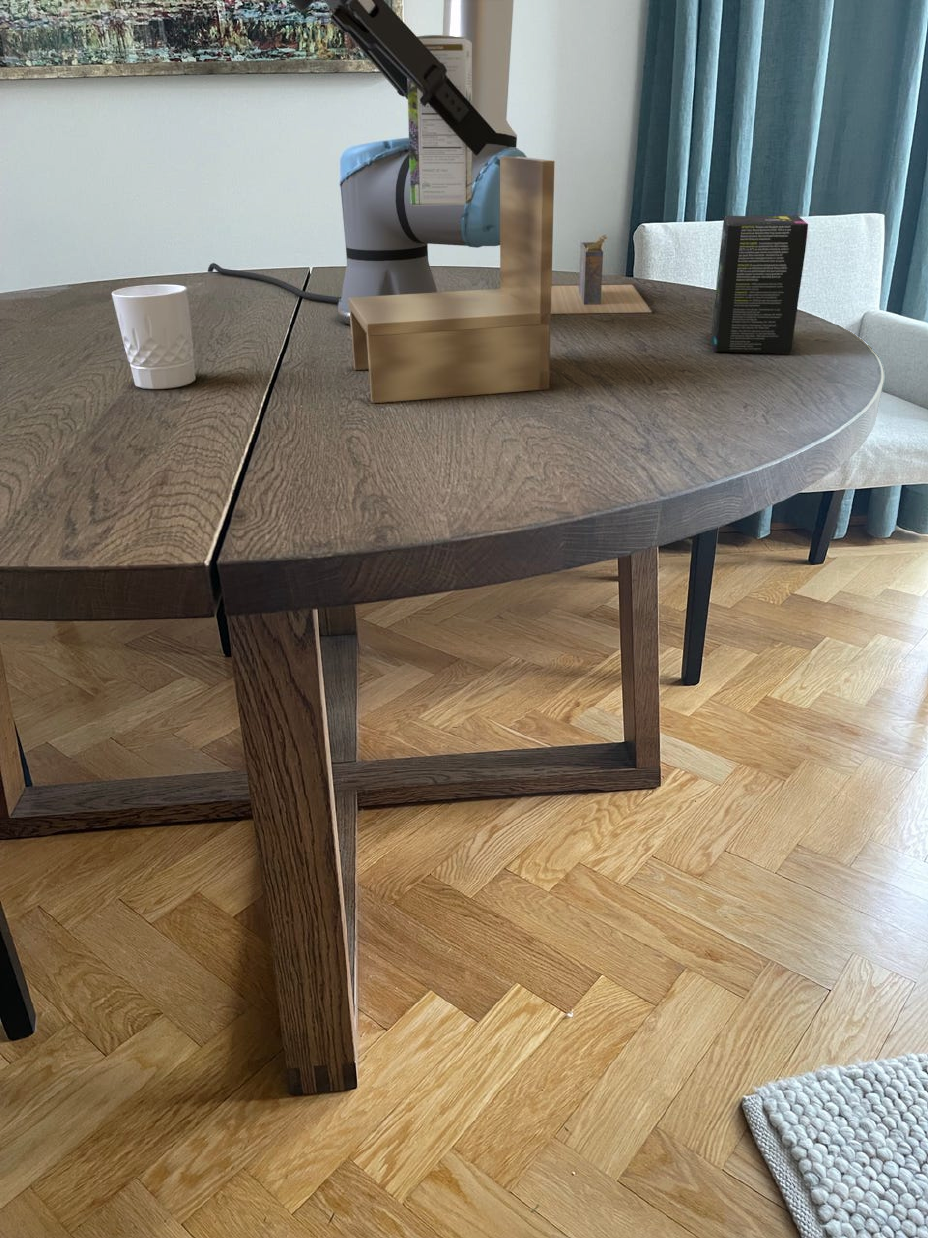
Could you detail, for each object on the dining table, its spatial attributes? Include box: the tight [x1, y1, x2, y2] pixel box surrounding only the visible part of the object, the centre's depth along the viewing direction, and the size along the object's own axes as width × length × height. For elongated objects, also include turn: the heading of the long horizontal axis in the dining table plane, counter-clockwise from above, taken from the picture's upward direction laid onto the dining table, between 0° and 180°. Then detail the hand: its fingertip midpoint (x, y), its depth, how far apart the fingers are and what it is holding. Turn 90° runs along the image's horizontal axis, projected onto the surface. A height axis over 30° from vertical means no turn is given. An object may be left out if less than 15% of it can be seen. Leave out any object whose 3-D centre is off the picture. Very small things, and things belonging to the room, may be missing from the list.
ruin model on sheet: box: [551, 234, 653, 315], centre depth 145 cm, size 25×16×10 cm, turn 178°
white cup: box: [111, 284, 196, 390], centre depth 103 cm, size 8×8×10 cm
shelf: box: [349, 156, 555, 404], centre depth 99 cm, size 19×16×22 cm
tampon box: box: [710, 214, 809, 355], centre depth 113 cm, size 11×9×15 cm
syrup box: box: [407, 34, 472, 206], centre depth 91 cm, size 6×6×14 cm
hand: (476, 142), depth 93 cm, fingers closed on syrup box, 7 cm apart
